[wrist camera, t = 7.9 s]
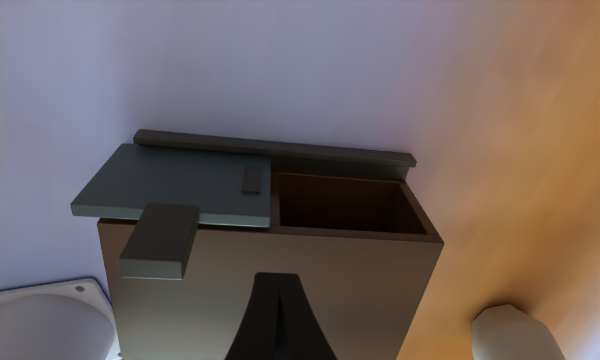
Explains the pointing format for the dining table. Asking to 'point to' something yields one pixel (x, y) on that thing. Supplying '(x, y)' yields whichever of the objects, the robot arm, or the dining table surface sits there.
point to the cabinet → (287, 256)
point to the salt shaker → (512, 336)
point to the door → (175, 201)
